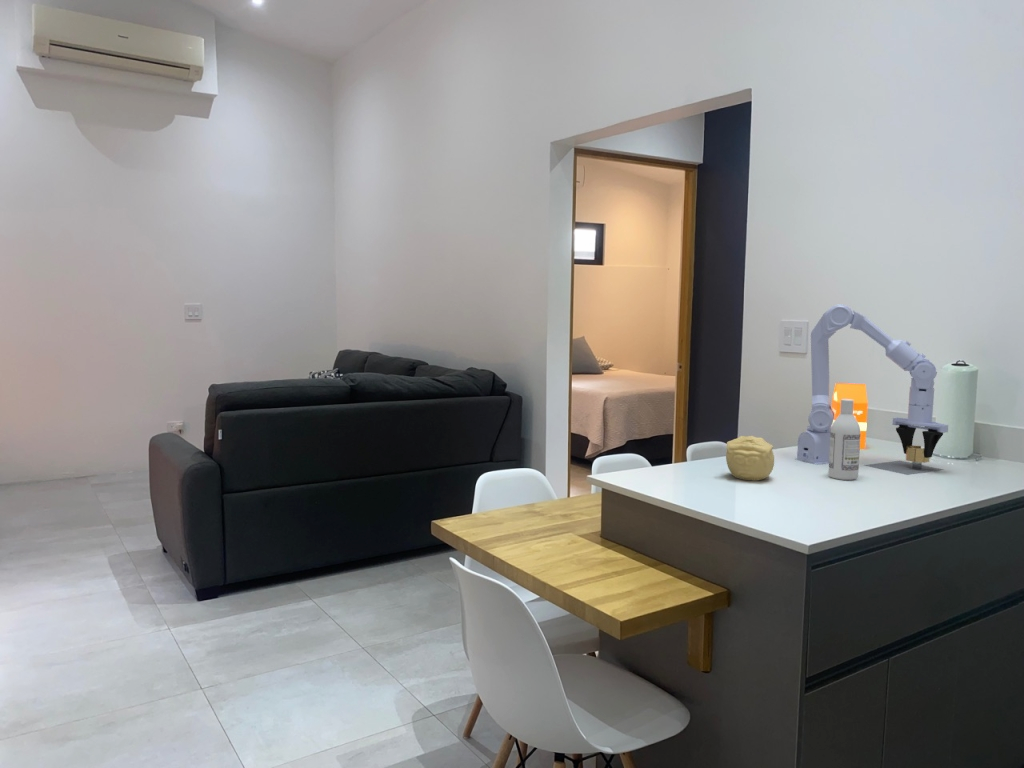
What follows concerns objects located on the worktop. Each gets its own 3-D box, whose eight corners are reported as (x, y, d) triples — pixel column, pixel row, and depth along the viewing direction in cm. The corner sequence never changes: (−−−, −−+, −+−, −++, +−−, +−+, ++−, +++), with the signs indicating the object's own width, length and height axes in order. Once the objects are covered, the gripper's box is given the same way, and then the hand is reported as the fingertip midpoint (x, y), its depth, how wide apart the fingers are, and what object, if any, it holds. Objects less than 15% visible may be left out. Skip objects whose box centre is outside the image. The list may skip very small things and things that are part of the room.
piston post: (917, 469, 199) (918, 454, 199) (910, 468, 201) (911, 453, 201) (923, 468, 200) (924, 454, 200) (915, 467, 202) (916, 452, 202)
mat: (907, 476, 193) (907, 474, 193) (863, 466, 204) (863, 465, 204) (944, 471, 199) (944, 469, 199) (899, 461, 211) (899, 460, 211)
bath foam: (863, 478, 190) (867, 400, 188) (849, 482, 186) (854, 402, 184) (836, 473, 195) (840, 397, 193) (823, 476, 191) (827, 399, 189)
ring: (920, 463, 197) (920, 449, 196) (901, 459, 201) (902, 446, 201) (932, 461, 199) (933, 448, 199) (914, 457, 204) (915, 444, 203)
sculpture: (721, 479, 187) (722, 437, 186) (731, 470, 198) (732, 430, 196) (769, 485, 182) (771, 441, 181) (776, 475, 192) (778, 434, 191)
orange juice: (865, 450, 228) (869, 385, 226) (834, 449, 230) (838, 384, 228) (858, 445, 236) (862, 382, 234) (829, 444, 238) (832, 381, 236)
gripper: (956, 407, 194) (953, 459, 195) (905, 401, 207) (902, 449, 208) (939, 408, 191) (936, 461, 192) (888, 402, 204) (885, 451, 205)
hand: (917, 455), depth 200 cm, fingers closed on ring, 5 cm apart
